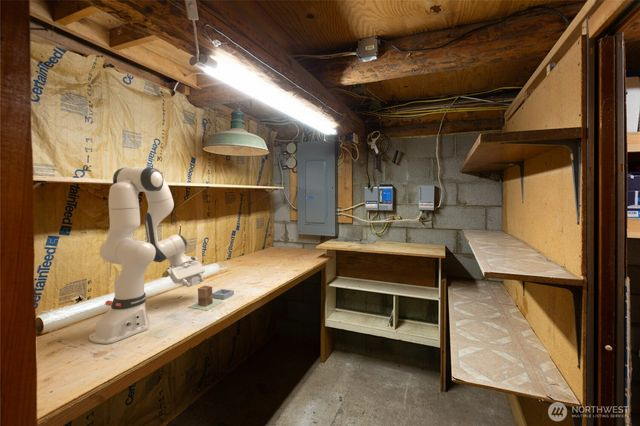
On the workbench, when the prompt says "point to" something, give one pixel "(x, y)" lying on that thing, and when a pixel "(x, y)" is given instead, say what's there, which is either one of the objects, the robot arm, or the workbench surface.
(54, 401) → the workbench surface
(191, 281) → the light bulb box
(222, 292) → the gray square frame
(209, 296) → the walnut block
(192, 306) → the rubber mat
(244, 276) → the workbench surface
